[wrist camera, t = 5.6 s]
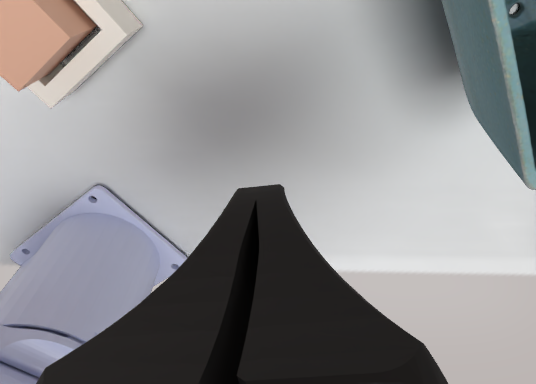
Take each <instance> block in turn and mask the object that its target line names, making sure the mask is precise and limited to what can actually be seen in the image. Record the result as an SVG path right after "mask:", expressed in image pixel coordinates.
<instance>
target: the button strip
mask: <svg viewBox="0 0 536 384" xmlns="http://www.w3.org/2000/svg"><path fill="white" fill-rule="evenodd" d="M74 1H75V2H76V3H77V4H78V5H79V6H80V7H81V8H82V9H83V10H84V11H85V12H86V13H87V15H88V16H89V17H90V18H91V19H92V20H93V21H94V22H95V23H96V24H97V25H98V26H99V27H100V29H101V31H100V32H99V33H98V34H97V35H96V36H95V37H94V38H93V39H92V40H91V41H90V42H89V43H88V44H87V45H86V46H85V47H84V48H83V49H82V50H81V51H80V52H79V53H78V54H77V55H76V56H75V57H74V58H73V59H72V60H71V61H70V62H69V63H68V64H67V65H66V66H65V67H63V66H62V65H61V64H59V65H58V66H57V67H56V68H55V69H54V70H53V71H52V72H51V73H50V74H48V75H46V76H45V77H43V78H41V79H39V80H38V81H36V82H34V83H32V84H31V85H29V86H27V88H28V89H29V90H31V91H32V92H33V93H34V94H35V95H36V96H37V97H38V98H39V99H41V100H42V101H43V102H44V103H45V104H46V105H47V106H48V107H50V108H52V107H54V106H55V105H56V104H58V103H59V102H61V101H62V100H63V99H65V98H66V97H67V96H69V95H70V94H71V93H73V92H74V91H75V90H76V89H77V88H78V87H79V86H80V85H81V84H82V83H83V82H84V81H85V80H87V79H88V78H89V77H90V76H91V75H92V74H93V73H94V72H95V71H96V70H97V69H98V68H99V67H100V66H101V65H102V64H103V63H104V62H105V61H106V60H107V59H109V58H110V57H111V56H112V55H113V54H114V53H115V52H116V51H117V50H118V49H119V48H120V47H121V46H122V45H123V44H124V43H125V42H126V41H127V40H128V39H130V38H131V37H132V36H133V35H134V34H135V33H136V32H137V31H138V30H139V29H140V28H141V27H142V26H143V24H142V23H141V22H140V21H139V20H138V19H137V18H136V16H135V15H134V14H133V13H132V12H131V11H130V10H129V8H128V7H127V6H126V5H125V4H124V3H123V1H122V0H74Z"/></svg>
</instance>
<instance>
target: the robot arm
mask: <svg viewBox="0 0 536 384" xmlns="http://www.w3.org/2000/svg"><path fill="white" fill-rule="evenodd" d="M91 196H94V197H96V199H97V200H96V199H93V198H92V197H91ZM10 258H11V260H13V261H14V262H15V263H17V264H18V265H20V266H21V267H20V268H19V269H18V270H17V272H16V273H15V274H14V275H13V277H12V278H11V279H10V281H9V282H8V283H7V284H6V286H5V287H4V288H3V289H2V291H1V292H0V384H448V382H447V381H446V379H445V377H444V375H443V374H442V372H441V370H440V368H439V367H438V365H437V363H436V362H435V360H434V359H433V357H432V355H431V354H430V352H429V351H428V349H427V348H426V346H425V345H424V344H423V343H422V342H420V341H419V340H417V339H416V338H415V337H413V336H412V335H410V334H409V333H407V332H406V331H404V330H403V329H402V328H400V327H399V326H398V325H396V324H395V323H393V322H392V321H391V320H390V319H388V318H387V317H386V316H384V315H383V314H382V313H381V312H379V311H378V310H377V309H375V308H374V307H373V306H372V305H371V304H370V303H368V302H367V301H366V300H365V299H364V298H363V297H362V296H361V295H360V294H358V293H357V292H356V291H355V290H354V289H353V288H352V287H351V286H350V285H349V284H348V283H347V282H345V281H344V280H343V279H342V278H341V276H339V274H338V273H337V272H336V271H335V270H334V269H333V268H332V267H331V266H330V265H329V263H328V262H327V261H326V260H325V259H324V258H323V257H322V255H321V254H320V253H319V252H318V250H317V249H316V248H315V246H314V245H313V244H312V242H311V241H310V239H309V238H308V237H307V235H306V234H305V232H304V231H303V229H302V228H301V226H300V224H299V222H298V221H297V219H296V217H295V216H294V214H293V212H292V210H291V208H290V206H289V203H288V201H287V199H286V196H285V192H284V187H283V186H281V185H280V184H278V185H268V186H259V187H249V188H239V189H238V190H237V191H236V192H235V193H234V195H233V197H232V198H231V200H230V201H229V203H228V205H227V206H226V208H225V209H224V211H223V212H222V214H221V215H220V217H219V218H218V220H217V221H216V222H215V224H214V225H213V227H212V228H211V229H210V231H209V232H208V234H207V235H206V236H205V237H204V239H203V240H202V241H201V242H200V244H199V245H198V246H197V247H196V249H195V250H194V251H193V252H192V253H191V255H190V256H189V257H188V258H187V257H186V256H185V255H184V254H182V253H181V252H180V251H179V250H178V249H177V248H175V247H174V246H173V245H172V244H171V243H169V242H168V241H167V240H166V239H165V238H164V237H162V236H161V235H160V234H159V233H158V232H157V231H155V230H154V229H153V228H152V227H151V226H149V225H148V224H147V223H146V222H145V221H144V220H142V219H141V218H140V217H139V216H138V215H136V214H135V213H134V212H133V211H132V210H131V209H129V208H128V207H127V206H126V205H125V204H124V203H122V202H121V201H120V200H119V199H118V198H116V197H115V196H114V195H113V194H112V193H111V192H109V191H108V190H107V189H106V188H104V187H103V186H94V187H93V188H91V189H90V190H89V191H88V192H86V193H85V194H84V195H83V196H81V197H80V198H79V199H78V200H76V201H75V202H74V203H73V204H71V205H70V206H69V207H68V208H66V209H65V210H64V211H62V212H61V213H60V214H59V215H57V216H56V217H55V218H54V219H52V220H51V221H50V222H49V223H47V224H46V225H45V226H44V227H42V228H41V229H40V230H39V231H37V232H36V233H35V234H34V235H32V236H31V237H30V238H29V239H27V240H26V241H25V242H23V243H22V244H21V245H20V246H18V247H17V248H16V249H15V250H13V252H12V253H11V254H10ZM174 264H177V265H174ZM168 277H169V278H168ZM167 278H168V279H167ZM165 279H167V280H166V281H165V282H164V283H163V284H161V285H160V286H159V287H158V288H157V289H156V290H154V291H153V292H152V293H151V291H152V288H153V286H155V285H157V284H158V283H160V282H161V281H163V280H165Z"/></svg>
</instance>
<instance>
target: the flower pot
mask: <svg viewBox="0 0 536 384" xmlns="http://www.w3.org/2000/svg"><path fill="white" fill-rule="evenodd" d="M441 1H442V4H443V8H444V12H445V15H446V19H447V23H448V26H449V30H450V34H451V38H452V42H453V45H454V49H455V53H456V57H457V61H458V65H459V69H460V73H461V77H462V81H463V85H464V89H465V92H466V95H467V98H468V101H469V104H470V106H471V109H472V111H473V113H474V115H475V117H476V118H477V120H478V121H479V123H480V124H481V126H482V127H483V129H484V130H485V132H486V133H487V134H488V136H489V137H490V138H491V140H492V141H493V143H494V144H495V145H496V147H497V148H498V149H499V151H500V152H501V153H502V155H503V156H504V157H505V159H506V160H507V161H508V163H509V164H510V165H511V167H512V168H513V169H514V171H515V172H516V173H517V174H518V176H519V177H520V178H521V179H522V181H523V182H524V183H525V185H526V186H527V187H528V188H529V189H532V190H536V0H441ZM515 3H518V4H519V5H520V9H519V11H518V12H517V13H516V14H514V15H510V14H509V11H510V8H511V7H512V6H513V5H514V4H515Z"/></svg>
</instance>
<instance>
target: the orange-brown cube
mask: <svg viewBox="0 0 536 384" xmlns="http://www.w3.org/2000/svg"><path fill="white" fill-rule="evenodd" d="M96 26H97V25H96V24H95V23H94V22H93V21H92V20H91V19H90V18H89V17H88V16H87V15H86V14H85V13H84V11H83V10H82V9H81V8H80V7H79V6H78V5H77V4H76V3H75V2H74V1H73V0H0V76H1V77H3V78H4V79H5V80H6V81H7V82H8V83H9V84H11V85H12V86H13V87H14V88H15V89H16V90H17V91H20V90H22V89H24V88H25V87H27V86H29V85H31V84H32V83H34V82H36V81H38V80H39V79H41V78H43V77H45V76H46V75H48V74H50V73H51V72H52V71H53V70H54V69H55V68H56V67H57V66H58V65H59V64H60V63H61V62H62V61H63V60H64V59H65V58H66V57H67V56H68V55H69V54H70V53H71V52H72V51H73V50H74V49H75V48H76V46H77V45H78V44H79V43H80V42H81V41H82V40H83V39H84V38H85V37H86V36H87V35H88V34H89V33H90V32H91V31H92V30H93V29H94V28H95V27H96Z"/></svg>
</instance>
